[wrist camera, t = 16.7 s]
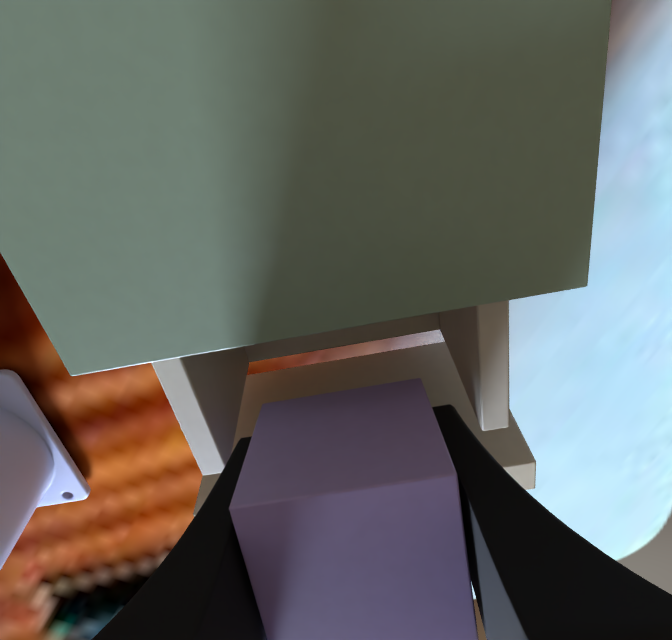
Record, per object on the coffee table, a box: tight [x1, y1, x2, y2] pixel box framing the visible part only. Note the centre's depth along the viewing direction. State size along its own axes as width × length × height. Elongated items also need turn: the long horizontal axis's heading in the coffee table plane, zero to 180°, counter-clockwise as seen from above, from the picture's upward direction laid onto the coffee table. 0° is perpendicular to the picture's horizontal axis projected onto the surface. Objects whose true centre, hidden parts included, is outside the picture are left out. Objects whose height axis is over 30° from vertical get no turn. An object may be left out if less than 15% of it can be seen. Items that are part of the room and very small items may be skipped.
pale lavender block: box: [229, 378, 478, 640], centre depth 12 cm, size 4×4×4 cm
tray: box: [151, 300, 536, 517], centre depth 16 cm, size 17×10×7 cm, turn 10°
